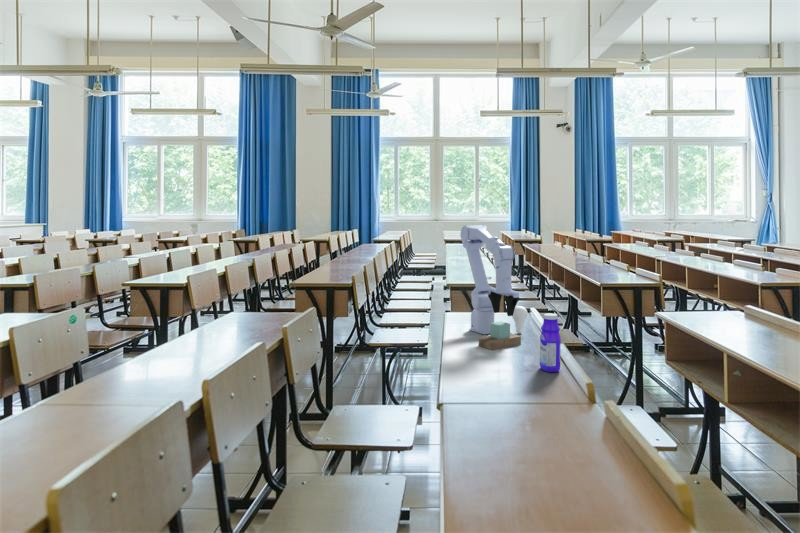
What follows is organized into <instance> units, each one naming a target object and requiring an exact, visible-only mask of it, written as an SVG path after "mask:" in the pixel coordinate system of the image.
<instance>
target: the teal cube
mask: <svg viewBox="0 0 800 533" xmlns="http://www.w3.org/2000/svg"><path fill="white" fill-rule="evenodd" d="M510 333H511V323H508V322H505V321H502V320H501V321H494V323H490V333H489V336H490V337H494V338H497V339H504V338H510Z"/></svg>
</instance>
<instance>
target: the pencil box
mask: <svg viewBox="0 0 800 533" xmlns="http://www.w3.org/2000/svg"><path fill="white" fill-rule="evenodd" d="M521 344H522V336H521V335H518V334H515V333H511V332H510V338H504V339H497V338H494V337H490V335H486V336H481V337H479V336H478V346H479V347H481V348H485V349H488V350H490V351H493V350H498V349H502V348H508V347H509V348H510V347H513V346H519V345H521Z"/></svg>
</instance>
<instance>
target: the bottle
mask: <svg viewBox="0 0 800 533" xmlns="http://www.w3.org/2000/svg"><path fill="white" fill-rule="evenodd" d="M540 329H541V333H540V335H539V367H540V368H541V370H543V371H544V372H547V373H556V372H559V371H560V369H561V343H562V339H561V334H560V331H561V328H560V326H559V321H558V314H557V313H549V312H548V313H544V314H543V323H542V325H541V327H540Z"/></svg>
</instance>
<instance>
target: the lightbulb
mask: <svg viewBox="0 0 800 533" xmlns="http://www.w3.org/2000/svg"><path fill="white" fill-rule="evenodd" d="M528 313H529V312H528V310H527V309H526V307H525V306H522V305H517V306H515V309H514V313H513V316H511V317H512V319H513V321H514V325H515V326H514V327H515V332H516V333H517V334H522V333H523V330H524V324H525V322H526V319H527V318H528Z"/></svg>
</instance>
